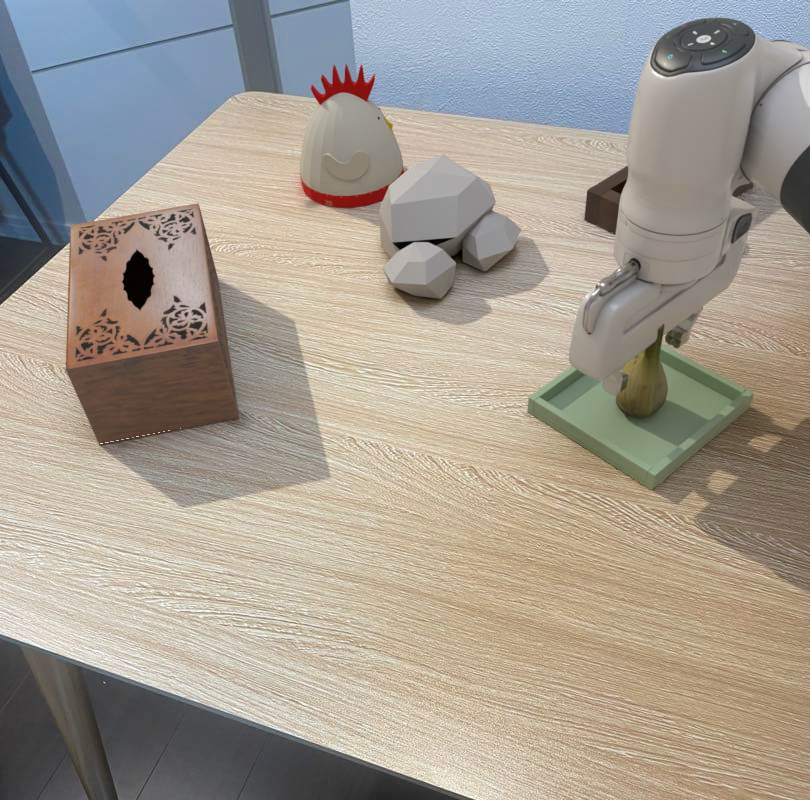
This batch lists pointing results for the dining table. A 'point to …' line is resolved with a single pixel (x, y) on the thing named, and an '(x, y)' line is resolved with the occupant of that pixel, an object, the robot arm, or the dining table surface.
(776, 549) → the dining table surface
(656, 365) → the fennel bulb
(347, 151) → the kitchen timer
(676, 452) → the tray
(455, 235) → the rock
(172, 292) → the tissue box cover
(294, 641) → the dining table surface
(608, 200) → the rack
